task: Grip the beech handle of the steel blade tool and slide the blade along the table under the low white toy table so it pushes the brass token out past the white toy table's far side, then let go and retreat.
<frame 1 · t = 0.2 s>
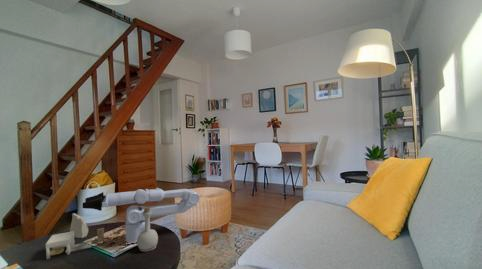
hand: (84, 203, 99), 21 cm above the table, tool horizontal, fingers open, 7 cm apart
potion bottle: (148, 247, 101), on the table
stone: (79, 235, 116), on the table
token: (56, 253, 99), on the table
white toy table: (61, 251, 100), on the table
blade tool: (101, 242, 107), on the table
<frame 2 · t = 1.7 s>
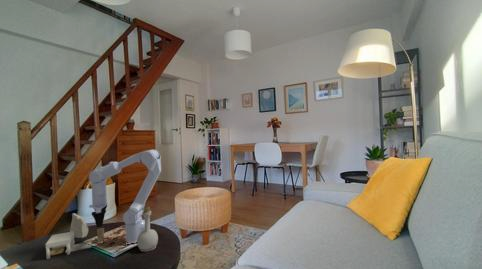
hand: (100, 223, 107), 9 cm above the table, tool pointing down, fingers open, 7 cm apart
nothing on the table moved.
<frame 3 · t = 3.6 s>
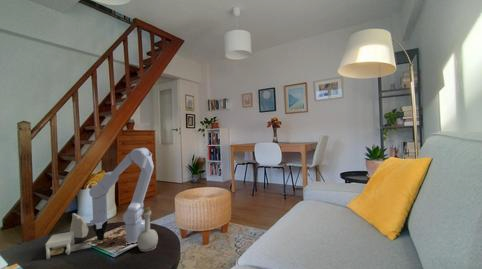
hand: (100, 238, 107), 2 cm above the table, tool pointing down, fingers closed on blade tool
blade tool: (101, 242, 107), on the table, touching gripper
everything else where it was.
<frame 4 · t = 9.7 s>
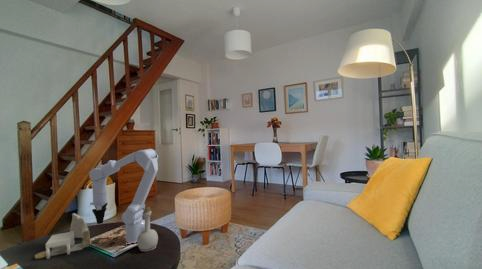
hand: (100, 220, 109), 9 cm above the table, tool pointing down, fingers open, 7 cm apart
token: (42, 256, 97), on the table
blade tool: (86, 246, 104), on the table
everything else where it was.
at the end: token inside the target area (4.8 cm from its centre), on the table; token tilted 0° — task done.
